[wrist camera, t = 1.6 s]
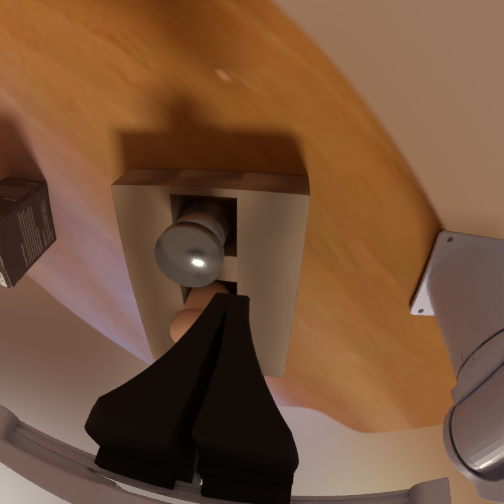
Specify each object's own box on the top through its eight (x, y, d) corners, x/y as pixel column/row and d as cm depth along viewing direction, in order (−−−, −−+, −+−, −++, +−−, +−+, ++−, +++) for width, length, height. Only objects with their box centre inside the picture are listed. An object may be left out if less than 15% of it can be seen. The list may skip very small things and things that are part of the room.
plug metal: (235, 197, 18) (220, 232, 15) (235, 249, 20) (222, 290, 17) (175, 193, 18) (149, 226, 15) (180, 244, 20) (159, 283, 17)
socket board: (308, 176, 19) (310, 195, 17) (285, 351, 29) (283, 377, 26) (131, 168, 20) (110, 185, 18) (163, 335, 30) (153, 358, 27)
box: (6, 175, 22) (-48, 212, 16) (48, 181, 22) (-10, 225, 16) (17, 230, 25) (-29, 272, 19) (58, 241, 25) (11, 291, 19)
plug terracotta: (235, 279, 21) (223, 321, 18) (235, 316, 23) (226, 358, 20) (184, 273, 22) (165, 313, 18) (189, 310, 24) (174, 350, 20)
